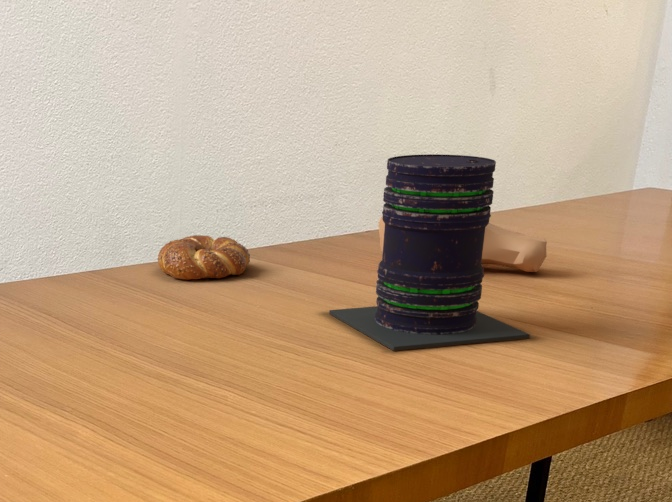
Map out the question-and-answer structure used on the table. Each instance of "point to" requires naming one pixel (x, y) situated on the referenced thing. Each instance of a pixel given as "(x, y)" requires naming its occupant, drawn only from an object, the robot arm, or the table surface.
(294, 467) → the table surface
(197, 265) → the braided bread ring
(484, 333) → the coaster
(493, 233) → the squash
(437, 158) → the dark purple barrel
